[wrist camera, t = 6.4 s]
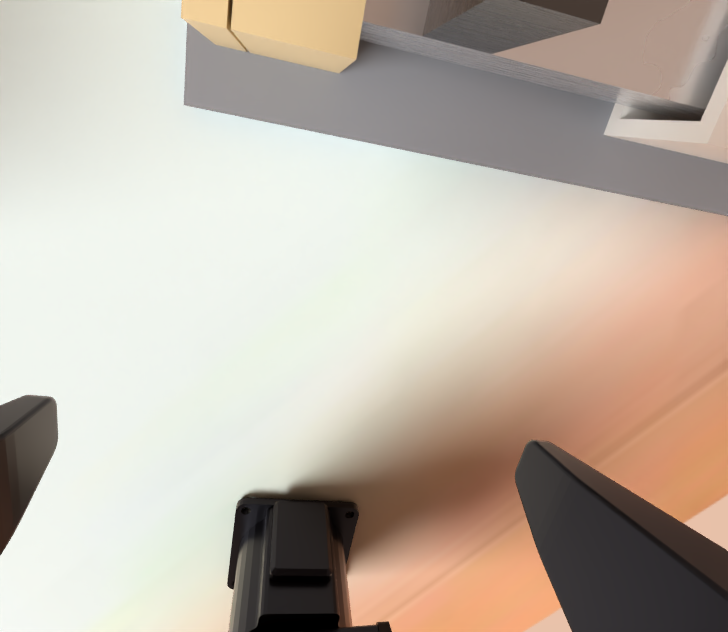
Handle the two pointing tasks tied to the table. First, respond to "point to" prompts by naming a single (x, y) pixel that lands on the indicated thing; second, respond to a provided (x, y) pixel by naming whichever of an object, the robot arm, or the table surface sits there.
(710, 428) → the table surface
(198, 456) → the table surface
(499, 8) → the steel t-shaped block
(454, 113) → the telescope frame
